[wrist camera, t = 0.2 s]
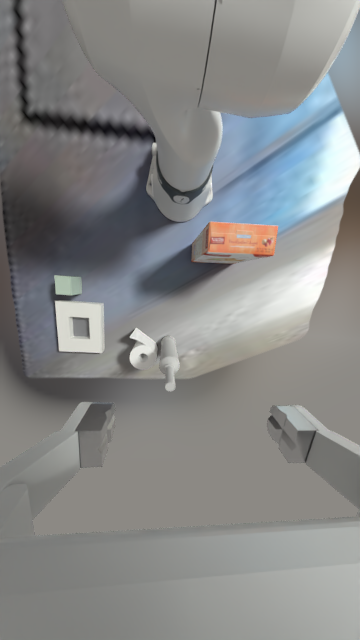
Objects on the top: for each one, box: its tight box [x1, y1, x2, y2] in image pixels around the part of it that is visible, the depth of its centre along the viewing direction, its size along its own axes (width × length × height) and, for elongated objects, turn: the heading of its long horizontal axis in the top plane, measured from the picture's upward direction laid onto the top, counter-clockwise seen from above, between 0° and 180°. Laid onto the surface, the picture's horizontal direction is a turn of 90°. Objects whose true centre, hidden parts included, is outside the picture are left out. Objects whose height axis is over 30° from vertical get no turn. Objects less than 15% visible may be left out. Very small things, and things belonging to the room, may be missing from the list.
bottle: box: [159, 336, 180, 391], centre depth 46 cm, size 5×5×25 cm
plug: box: [54, 275, 82, 295], centre depth 48 cm, size 5×4×6 cm
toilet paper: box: [129, 328, 158, 370], centre depth 54 cm, size 8×11×7 cm
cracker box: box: [191, 222, 278, 264], centre depth 42 cm, size 14×6×21 cm, turn 88°
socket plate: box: [55, 300, 104, 353], centre depth 53 cm, size 16×13×2 cm
